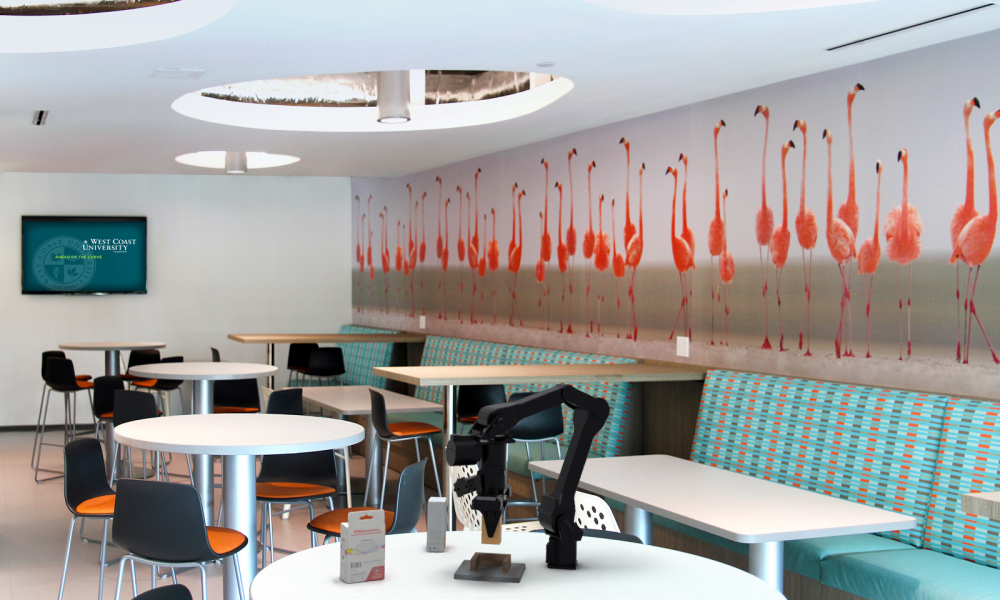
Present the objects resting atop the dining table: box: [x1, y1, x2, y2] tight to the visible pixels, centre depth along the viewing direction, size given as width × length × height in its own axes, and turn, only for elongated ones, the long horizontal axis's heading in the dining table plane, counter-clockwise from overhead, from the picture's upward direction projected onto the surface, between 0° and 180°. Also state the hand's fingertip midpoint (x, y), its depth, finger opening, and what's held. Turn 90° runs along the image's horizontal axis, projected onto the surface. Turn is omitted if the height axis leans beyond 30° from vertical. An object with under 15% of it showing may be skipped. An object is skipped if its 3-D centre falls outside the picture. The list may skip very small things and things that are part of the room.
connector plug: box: [480, 514, 503, 546], centre depth 197 cm, size 4×3×8 cm
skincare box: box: [426, 496, 448, 553], centre depth 217 cm, size 6×4×12 cm
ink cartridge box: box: [339, 509, 386, 584], centre depth 190 cm, size 9×5×15 cm, turn 117°
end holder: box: [453, 551, 527, 584], centre depth 196 cm, size 14×12×4 cm
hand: (491, 535), depth 197 cm, fingers closed on connector plug, 3 cm apart
